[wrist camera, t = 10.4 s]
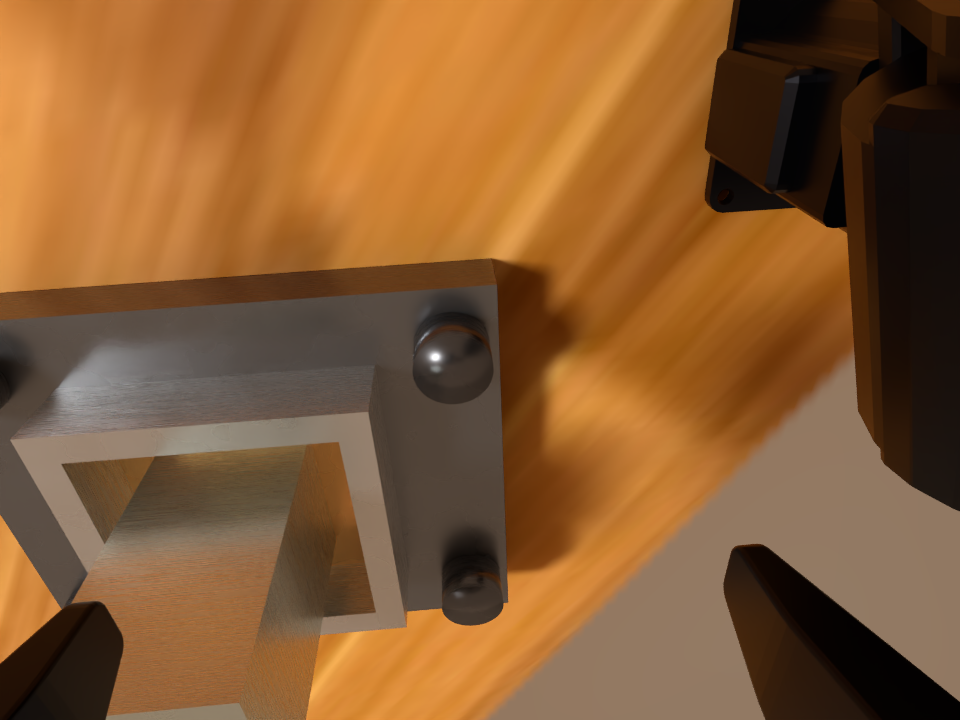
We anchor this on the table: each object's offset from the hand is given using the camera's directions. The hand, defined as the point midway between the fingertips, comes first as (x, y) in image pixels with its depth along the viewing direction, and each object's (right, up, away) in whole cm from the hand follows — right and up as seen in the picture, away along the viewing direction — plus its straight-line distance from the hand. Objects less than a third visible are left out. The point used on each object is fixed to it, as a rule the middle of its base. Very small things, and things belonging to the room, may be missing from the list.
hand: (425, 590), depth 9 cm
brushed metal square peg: (-7, -2, +13) cm, 15 cm away
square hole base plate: (-7, 0, +15) cm, 17 cm away
